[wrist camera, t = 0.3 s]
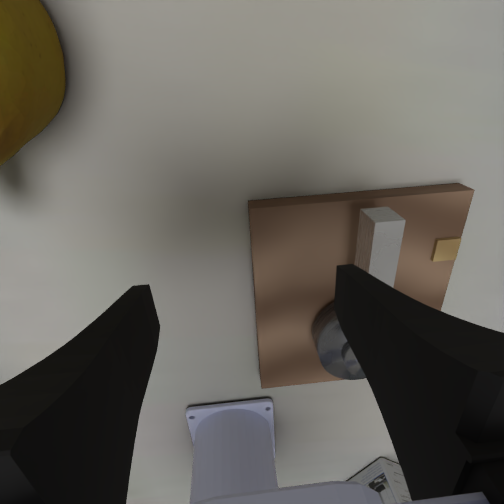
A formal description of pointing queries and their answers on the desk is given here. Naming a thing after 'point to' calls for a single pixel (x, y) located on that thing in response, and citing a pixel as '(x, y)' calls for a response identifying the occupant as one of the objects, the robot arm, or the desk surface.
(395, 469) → the light bulb box
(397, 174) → the desk surface
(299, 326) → the base
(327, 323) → the grey lever handle
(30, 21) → the mug
